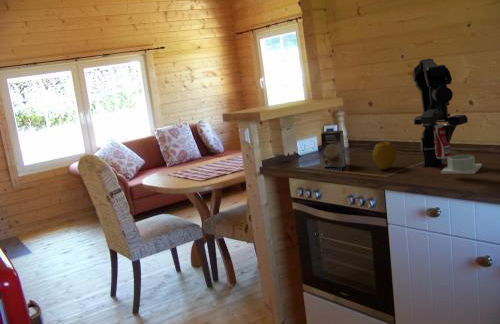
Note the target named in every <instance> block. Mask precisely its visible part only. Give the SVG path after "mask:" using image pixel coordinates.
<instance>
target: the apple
mask: <svg viewBox="0 0 500 324" xmlns="http://www.w3.org/2000/svg"><path fill="white" fill-rule="evenodd" d="M372 159H373V162H374V163H375V165H376V166H377V167H378V168H379V169H380V170H388V169H391V168H392V167H393V165H394V163H395V162H396V159H397V151H396V148H395V146H394V145H393V144H392V143H391V142H390V141H382V142H379V143H377V144H375V146H374V148H373V151H372Z"/></svg>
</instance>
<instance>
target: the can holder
mask: <svg viewBox="0 0 500 324" xmlns="http://www.w3.org/2000/svg"><path fill="white" fill-rule="evenodd" d="M446 159H447V166H445V167H444V168H442V169H441V171H440V174H442V175H448V174H449V175H475V174H476V173H478V171H479V170H480V169H481V168H482V167H483V163H476V161H475V160H476V159H475V155H473V154H455V155H451V156H450V157H449V158H446Z"/></svg>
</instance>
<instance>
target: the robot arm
mask: <svg viewBox="0 0 500 324" xmlns="http://www.w3.org/2000/svg"><path fill="white" fill-rule="evenodd" d="M412 77H413V78H412V79H413V82H414V84H415V87H416V88H417V90H418V91H419V92H420V95H421V105H422V112H423V113H422V114H421V115H418V116H415V117H414V119H413V122H414V123H413V124H414V125H415V126H416V125H419V126H421V127H423V131H422V133H421V137H420V145H419V146H420V152H421V153H423V160H424V163H423V166H422V167H423V168H424V167H426V168H428V167H429V168H430V167H432V168H433V167H437V168H438V167H440V166H442V165H443V164H444V159H438V158H437V157H436V152H435V142H434V132H433V129H434V126H435V125H439V123H445V124H446V125H445V126H443V127H444V129H445V134H446V139H447V143H448V142H450V143H451V140H452V137H453V133H454V131H455V130H456V128H457V126H460V125H465V124H467V123H468V122H469V121H468V117H467V115H466V114H455V115H451V113H449V110H448V109H449V108H448V106H450V101H451V100H452V99H453V96H454V95H453V94H454V93H453V90H452V89H451V88H449V87H448V85H451V84H452V81H453V78H452V76H451V72H450V69H449V68H448V67H447V66H446V65H445V64H437V63H436V62H435V61H434V59H433V58H427V59H421V60H419V62H418V64H417V65H416V66H415V67H414V68H413V73H412Z"/></svg>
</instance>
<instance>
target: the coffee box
mask: <svg viewBox="0 0 500 324" xmlns="http://www.w3.org/2000/svg"><path fill="white" fill-rule="evenodd" d="M320 139H321V147H322V155H323V156H322V157H323V166H324V167H337V168H345V166H346V165H347V159H346V148H345V139H344V131H343V130H329V131H327V130H326V131H323V132H321V133H320Z"/></svg>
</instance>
